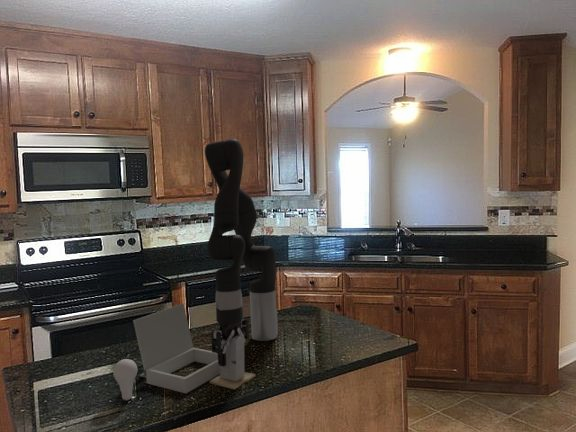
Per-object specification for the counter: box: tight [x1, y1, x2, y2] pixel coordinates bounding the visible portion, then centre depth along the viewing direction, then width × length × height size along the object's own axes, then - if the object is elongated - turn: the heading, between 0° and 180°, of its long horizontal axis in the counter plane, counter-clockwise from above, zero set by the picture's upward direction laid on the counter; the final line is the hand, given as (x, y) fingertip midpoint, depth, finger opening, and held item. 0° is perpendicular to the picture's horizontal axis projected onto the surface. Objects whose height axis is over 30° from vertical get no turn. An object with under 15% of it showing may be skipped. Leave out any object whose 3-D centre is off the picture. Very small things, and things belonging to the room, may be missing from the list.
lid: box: [132, 303, 194, 371], centre depth 149 cm, size 20×14×1 cm
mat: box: [208, 371, 256, 390], centre depth 140 cm, size 10×9×1 cm
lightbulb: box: [112, 358, 138, 401], centre depth 129 cm, size 6×6×11 cm
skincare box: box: [219, 335, 246, 381], centre depth 140 cm, size 6×4×12 cm
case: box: [145, 347, 220, 394], centre depth 145 cm, size 20×15×4 cm
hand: (231, 360), depth 140 cm, fingers open, 8 cm apart
